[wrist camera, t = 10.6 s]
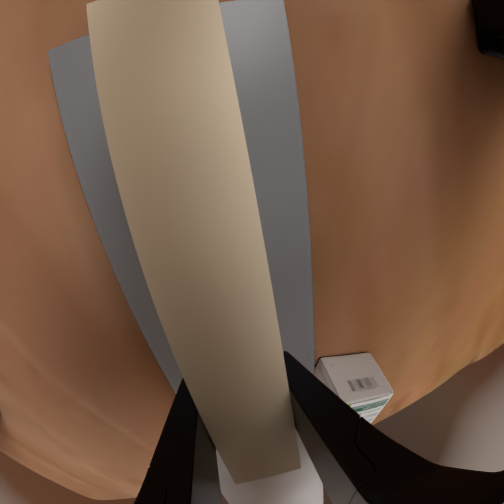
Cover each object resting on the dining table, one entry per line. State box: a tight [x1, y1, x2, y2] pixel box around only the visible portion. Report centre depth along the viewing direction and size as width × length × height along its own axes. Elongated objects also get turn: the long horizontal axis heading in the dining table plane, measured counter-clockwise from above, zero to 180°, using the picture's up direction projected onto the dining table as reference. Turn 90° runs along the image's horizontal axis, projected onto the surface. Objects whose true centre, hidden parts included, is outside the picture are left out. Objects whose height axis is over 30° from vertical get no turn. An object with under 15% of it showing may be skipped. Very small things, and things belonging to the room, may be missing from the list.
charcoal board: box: [48, 0, 315, 394], centre depth 20 cm, size 12×28×1 cm, turn 9°
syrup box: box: [313, 353, 394, 424], centre depth 29 cm, size 6×6×14 cm
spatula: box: [87, 0, 323, 504], centre depth 10 cm, size 5×24×3 cm, turn 9°
